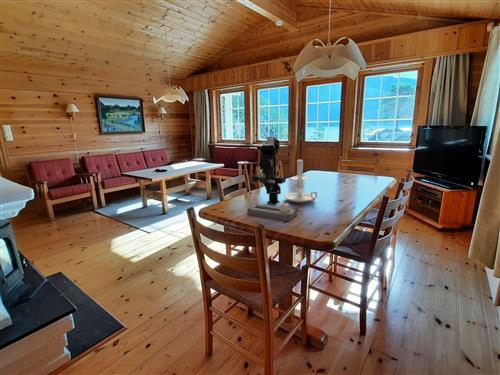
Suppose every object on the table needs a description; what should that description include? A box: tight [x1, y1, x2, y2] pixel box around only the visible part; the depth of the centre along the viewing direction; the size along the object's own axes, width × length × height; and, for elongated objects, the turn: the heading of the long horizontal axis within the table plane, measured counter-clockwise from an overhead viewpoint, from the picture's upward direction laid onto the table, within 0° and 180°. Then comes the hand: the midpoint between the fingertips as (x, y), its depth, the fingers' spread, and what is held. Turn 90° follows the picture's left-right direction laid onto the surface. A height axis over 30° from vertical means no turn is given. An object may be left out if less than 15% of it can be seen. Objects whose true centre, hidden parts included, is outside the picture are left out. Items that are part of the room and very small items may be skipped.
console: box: [246, 203, 298, 222], centre depth 154 cm, size 12×26×3 cm, turn 58°
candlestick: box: [283, 159, 319, 204], centre depth 175 cm, size 21×25×28 cm
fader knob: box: [278, 202, 290, 213], centre depth 149 cm, size 4×4×5 cm
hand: (268, 193), depth 153 cm, fingers closed
